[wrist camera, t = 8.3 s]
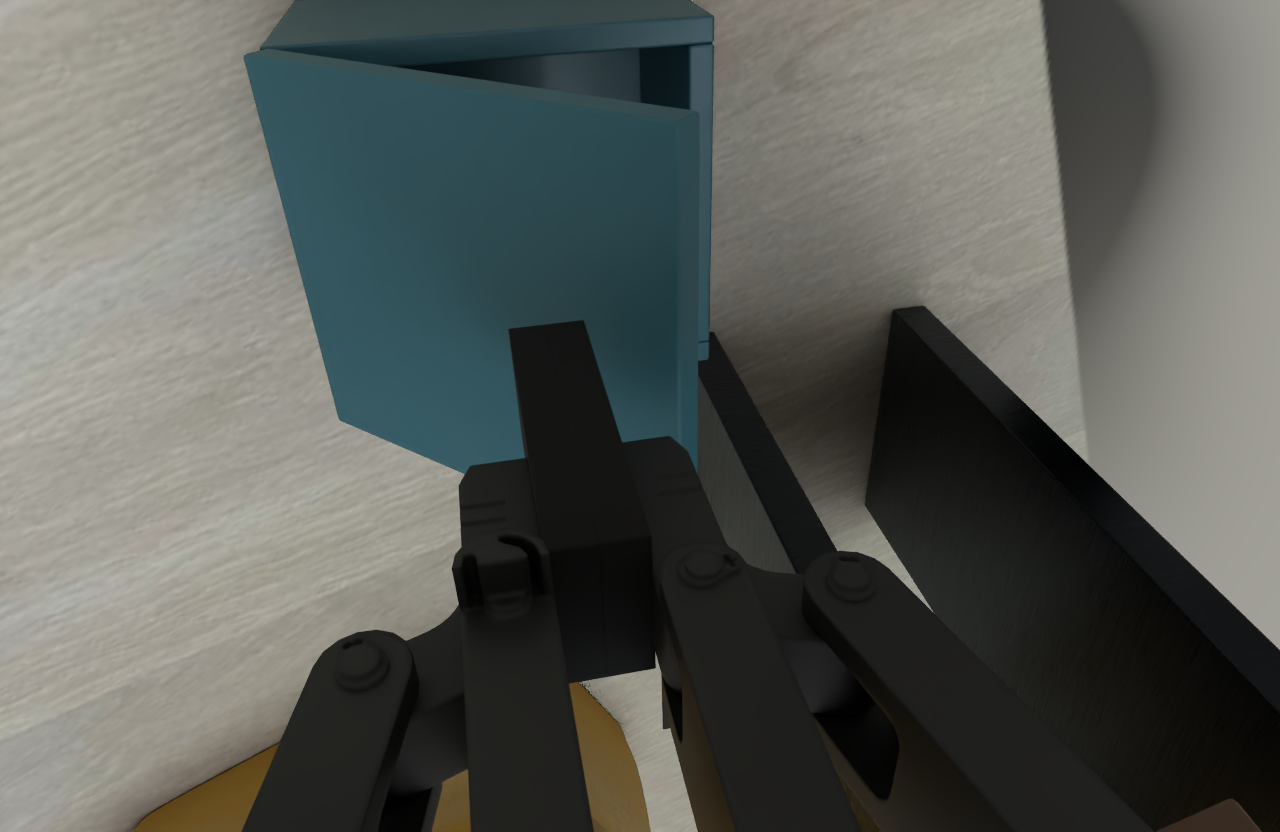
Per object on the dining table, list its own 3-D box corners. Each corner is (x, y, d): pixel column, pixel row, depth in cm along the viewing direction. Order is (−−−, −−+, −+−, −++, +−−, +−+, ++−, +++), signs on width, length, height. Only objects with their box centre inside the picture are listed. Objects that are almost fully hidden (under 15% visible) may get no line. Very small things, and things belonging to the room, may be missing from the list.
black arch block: (924, 305, 39) (1579, 937, 17) (892, 501, 45) (1340, 1152, 23) (679, 335, 37) (1046, 1078, 15) (680, 534, 43) (942, 1269, 21)
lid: (702, 110, 16) (678, 122, 15) (697, 548, 22) (681, 568, 21) (269, 47, 21) (241, 54, 21) (358, 408, 27) (338, 421, 27)
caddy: (653, -26, 29) (715, 15, 23) (659, 264, 35) (709, 360, 29) (296, -4, 28) (258, 47, 21) (364, 297, 34) (349, 406, 27)
